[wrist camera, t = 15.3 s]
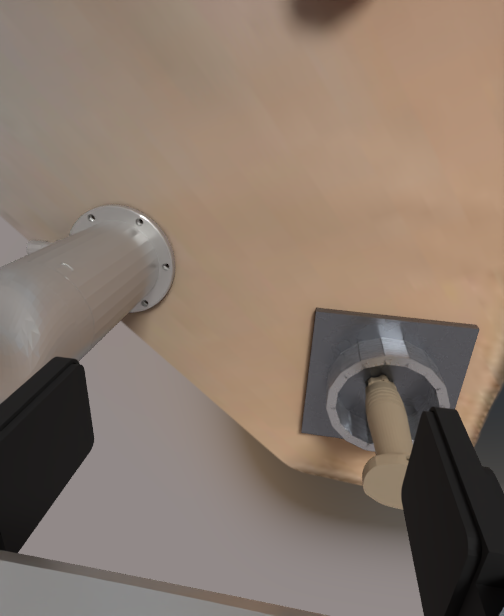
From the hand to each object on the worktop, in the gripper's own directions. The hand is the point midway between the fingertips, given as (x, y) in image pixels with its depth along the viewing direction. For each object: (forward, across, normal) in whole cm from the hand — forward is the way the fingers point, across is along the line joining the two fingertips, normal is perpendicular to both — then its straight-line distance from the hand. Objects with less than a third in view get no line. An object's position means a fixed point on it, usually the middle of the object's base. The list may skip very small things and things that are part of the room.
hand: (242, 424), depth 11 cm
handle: (+34, -11, +20) cm, 40 cm away
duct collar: (+34, -11, +20) cm, 41 cm away
